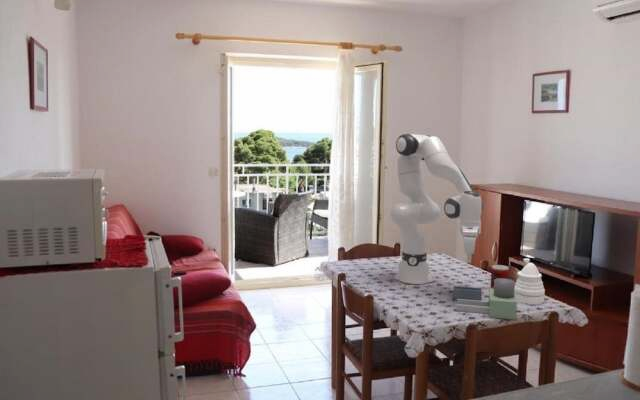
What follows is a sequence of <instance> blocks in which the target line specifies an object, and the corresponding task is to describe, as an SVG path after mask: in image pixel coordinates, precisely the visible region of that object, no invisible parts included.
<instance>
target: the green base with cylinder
mask: <svg viewBox="0 0 640 400" xmlns="http://www.w3.org/2000/svg"><path fill="white" fill-rule="evenodd" d="M515 284H516V281H515V280H513V279H511V278H510V279H509V278H508V279H505V278H498V279H495V280H494V289H491V287H490V288H489V290H488V292H489V293H488V301H487V300H486V301H485V300H481V301H478V300H466V299H457V300H456V305H455V307H456V308H455V311H456V312H465V313H475V314H486V315H488V317H489V318H496V319H503V320H505V319H506V320H517V309H518V308H517V307H518V306H517V305H518V303H517V301H516V296H515V292H514V290H515Z"/></svg>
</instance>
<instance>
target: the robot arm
mask: <svg viewBox="0 0 640 400" xmlns="http://www.w3.org/2000/svg"><path fill="white" fill-rule="evenodd" d="M395 149H396V152H397V154H399V156H398V157H397V160H396V161H397V164H396V165H397V167H396V169H397V177H398V183H399V189H400V192H401V193H402V194H403V195H405V196H406V197H407V198H408V199H409V200H410V202H409V201H408V202H407V201H406V202H399V203H397V204H394V205H393V206H392V208H391V210H390V219H391V220H392V222H393V223H394V225H396V226H397V227H398V228H399V230H400V232H401V234H402V251H401V261H399V262H398V267H397V268H398V271H397V274H396V275H395V276H394V280H397V281H399V282H402V283H405V284H412V285H422V284H423V285H424V284H427V283H433V282H434V280H433V279H434V278H433V277H432V275H431V271H430V265H429V263H428V262H427V258H428V255H427V237H426V236H425V234H424V233H423V232H421V231H419V228H418V225H427V224H432V223H434V222H437V221H438V220H439V219H440V216H441V208H440V206H439V204H437V203H436V202H435V201H434V200H432V198H431V197H430V196H429V195H428V193H427V192H426V190H425V188H424V183H423V179H422V172H421V168H420V163H421V161H424V162H425V165H426V168H427V170H428V171H429V172H430V174H431V175H433V177H436V178H438V179H442V180H446V181H448V182H449V183H452V184H453V186H455V188H456V189H457V192H458V193H459V194H458V195H457V196H453V197H449V198H447V199H446V200H445V202H444V206H443V211H444V214H445V216H446V217H448V218H449V219H453V220H457V219H459V233H460V234H461V235H462V237H463V248H464V249H463V250H464V254H465V255H466V263H468V264H471V263H472V255H474V254H475V247H476V241H477V238H478V237H479V235H481V233H482V219H481V217H482V216H481V215H482V213H483V210H484V204H483V201H482V197H481V194H480V193H478V192H476V191H475V190H474V189H473V187H472V185H471V184H470V181H468V179H467V177H466V176H465V174H464V173H463V171H462V170H461V168H459V167H458V166H457V165H456V163H454V162H453V160H452V158H451V157H450V155H449V152H448V151H447V149H446V147H445V145H444V143H443V142H442V140H441V139H440V138H439V137H437V136H435V135H434V136H433V135H428V134H427V135H425V134H419V133H411V134H410V133H404V134H401V135H400V136H398V137H397V139H396V142H395Z"/></svg>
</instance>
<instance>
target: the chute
mask: <svg viewBox="0 0 640 400" xmlns="http://www.w3.org/2000/svg"><path fill="white" fill-rule="evenodd" d="M482 289H483V288H482V287H473V286H459V285H453V288H452V300H455V301H457V299H466V300H478V301H482V296H483V295H482V292H483V290H482Z"/></svg>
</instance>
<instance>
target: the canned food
mask: <svg viewBox="0 0 640 400" xmlns="http://www.w3.org/2000/svg"><path fill="white" fill-rule="evenodd" d="M509 271H510V269H509V266H507V265H502V264H494V265H492V266H491V271H490V273H491V274H490V289H494V280H495V279H498V278H505V279H509V276H510V275H509Z"/></svg>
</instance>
